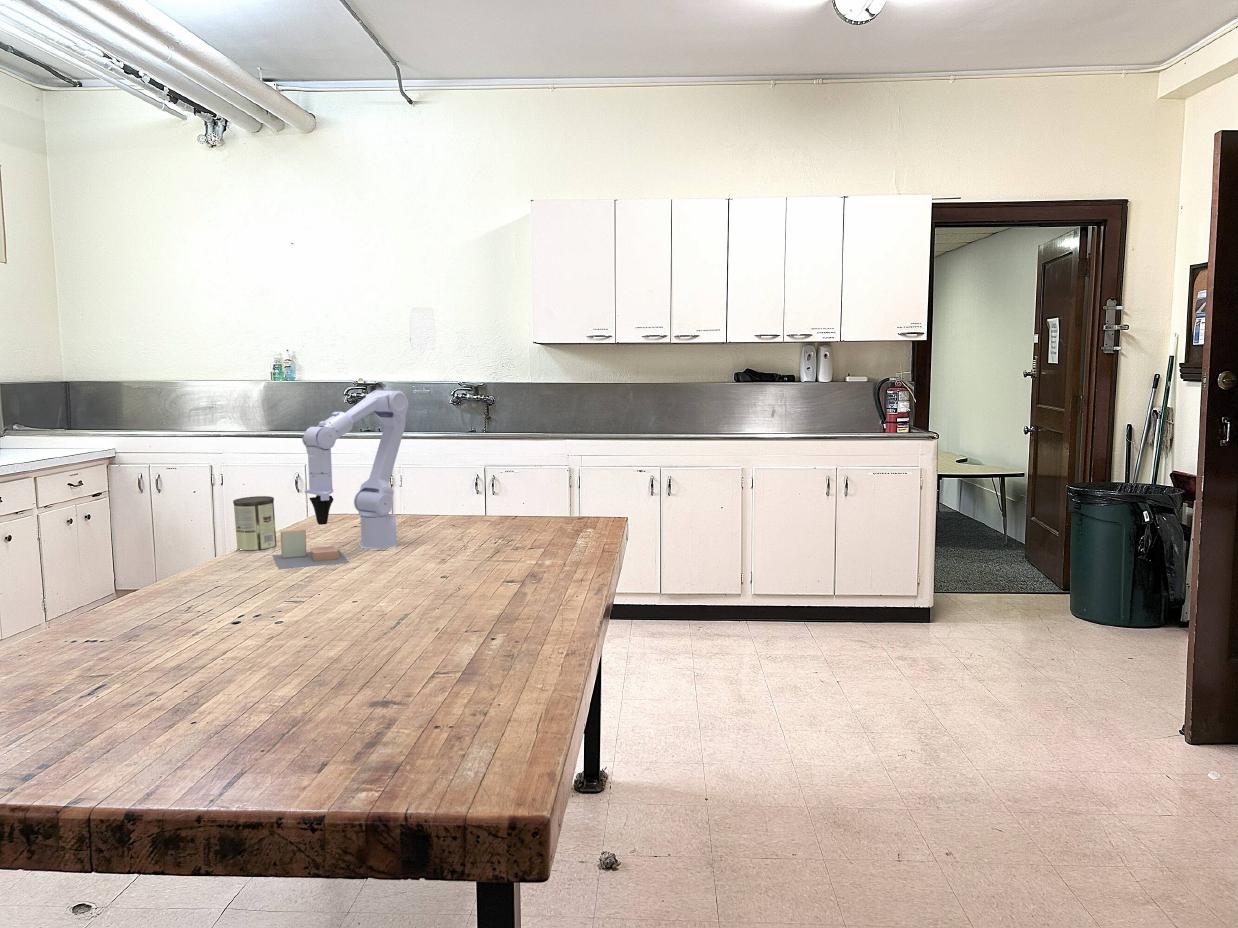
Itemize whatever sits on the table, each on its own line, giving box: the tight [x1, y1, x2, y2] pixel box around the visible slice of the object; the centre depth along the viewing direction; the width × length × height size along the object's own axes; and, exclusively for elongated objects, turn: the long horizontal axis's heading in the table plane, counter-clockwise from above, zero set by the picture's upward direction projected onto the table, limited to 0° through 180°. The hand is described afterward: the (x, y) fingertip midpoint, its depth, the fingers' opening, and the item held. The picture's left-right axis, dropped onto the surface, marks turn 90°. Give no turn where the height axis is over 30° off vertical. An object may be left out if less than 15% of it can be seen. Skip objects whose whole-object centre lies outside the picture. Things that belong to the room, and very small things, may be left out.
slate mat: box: [271, 549, 351, 570], centre depth 229 cm, size 17×18×1 cm
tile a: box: [309, 545, 339, 561], centre depth 231 cm, size 2×6×7 cm
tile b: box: [280, 528, 307, 559], centre depth 231 cm, size 2×6×7 cm, turn 116°
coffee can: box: [232, 495, 278, 554], centre depth 241 cm, size 10×10×14 cm
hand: (322, 524), depth 232 cm, fingers closed
